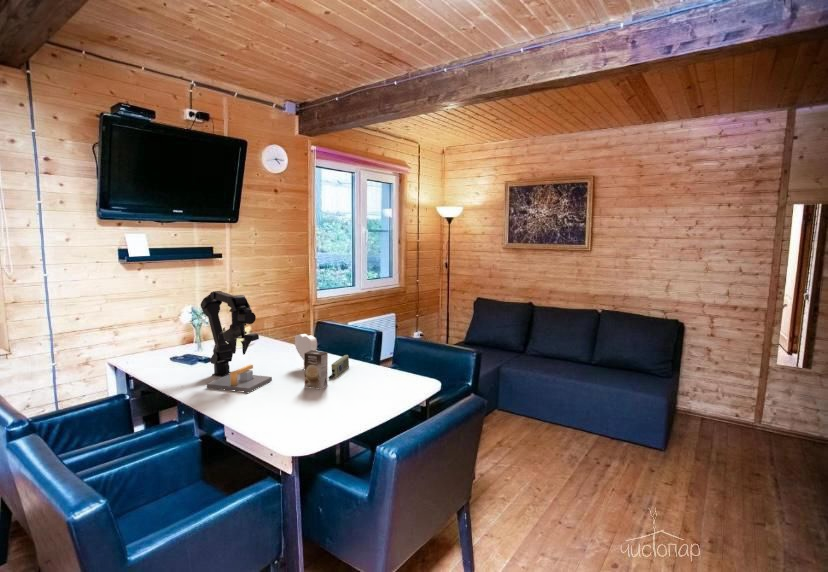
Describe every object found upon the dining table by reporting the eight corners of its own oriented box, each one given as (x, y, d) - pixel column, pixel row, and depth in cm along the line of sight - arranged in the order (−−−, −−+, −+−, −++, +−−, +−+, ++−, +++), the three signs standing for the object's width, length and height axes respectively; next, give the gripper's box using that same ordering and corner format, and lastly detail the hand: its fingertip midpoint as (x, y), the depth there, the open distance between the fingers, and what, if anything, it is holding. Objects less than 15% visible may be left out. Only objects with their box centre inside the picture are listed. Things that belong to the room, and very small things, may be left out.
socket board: (206, 388, 202) (206, 383, 202) (232, 376, 219) (232, 372, 219) (248, 392, 196) (248, 388, 196) (271, 380, 213) (271, 376, 213)
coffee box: (303, 387, 205) (303, 353, 203) (311, 383, 211) (310, 349, 209) (321, 389, 202) (320, 354, 200) (328, 385, 208) (328, 351, 206)
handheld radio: (350, 367, 240) (333, 380, 216) (344, 366, 241) (326, 380, 216) (349, 354, 239) (332, 367, 215) (343, 354, 240) (326, 367, 216)
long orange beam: (229, 385, 199) (229, 372, 199) (249, 376, 213) (249, 364, 213) (234, 385, 199) (234, 373, 198) (254, 376, 212) (253, 364, 212)
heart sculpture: (318, 370, 232) (318, 336, 230) (310, 372, 228) (310, 338, 226) (301, 364, 242) (301, 332, 241) (293, 366, 239) (293, 333, 237)
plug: (240, 384, 208) (239, 372, 207) (245, 382, 212) (245, 369, 211) (247, 385, 207) (247, 372, 206) (252, 382, 210) (252, 370, 210)
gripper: (209, 323, 206) (210, 356, 207) (244, 325, 201) (245, 359, 202) (225, 319, 216) (226, 351, 218) (259, 321, 211) (259, 353, 213)
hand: (239, 354), depth 212 cm, fingers open, 5 cm apart
